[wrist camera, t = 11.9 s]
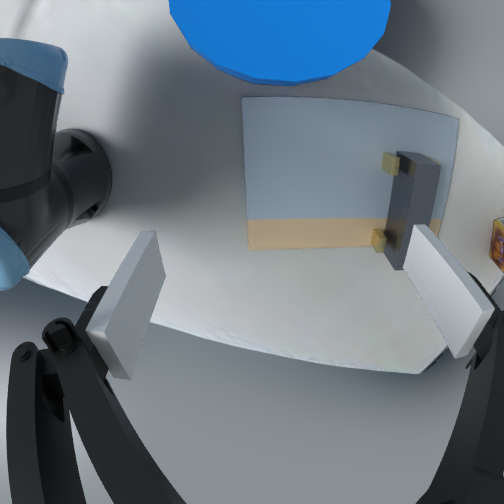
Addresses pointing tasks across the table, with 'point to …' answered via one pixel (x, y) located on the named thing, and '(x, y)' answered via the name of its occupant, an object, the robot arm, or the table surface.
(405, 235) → the bar
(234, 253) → the table surface
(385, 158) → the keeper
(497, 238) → the candy box
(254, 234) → the door board
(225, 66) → the red-spotted blue pillar
